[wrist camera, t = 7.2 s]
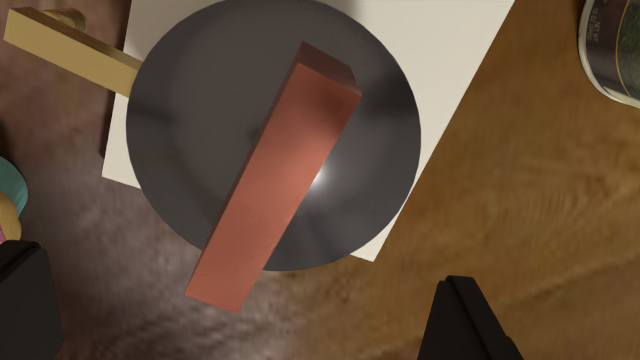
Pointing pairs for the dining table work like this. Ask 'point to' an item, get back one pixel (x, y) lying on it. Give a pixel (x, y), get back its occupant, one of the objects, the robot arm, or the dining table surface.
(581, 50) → the coffee can
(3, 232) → the cupcake
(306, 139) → the handwheel
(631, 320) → the dining table surface
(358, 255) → the pedestal
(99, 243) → the dining table surface
